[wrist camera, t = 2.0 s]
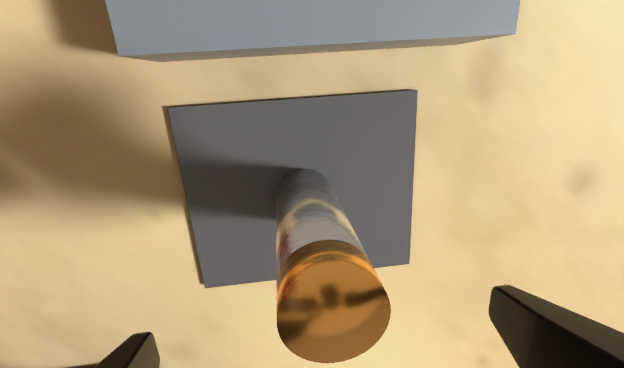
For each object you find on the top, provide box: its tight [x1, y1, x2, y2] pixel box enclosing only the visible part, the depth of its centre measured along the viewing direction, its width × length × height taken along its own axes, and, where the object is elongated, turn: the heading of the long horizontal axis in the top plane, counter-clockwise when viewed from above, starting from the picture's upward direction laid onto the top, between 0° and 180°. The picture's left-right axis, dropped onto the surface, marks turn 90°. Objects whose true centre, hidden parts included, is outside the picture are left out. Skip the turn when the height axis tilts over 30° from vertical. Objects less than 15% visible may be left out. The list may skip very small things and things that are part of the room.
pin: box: [276, 169, 391, 363], centre depth 12 cm, size 3×3×9 cm
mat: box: [168, 90, 418, 288], centre depth 17 cm, size 12×10×1 cm
